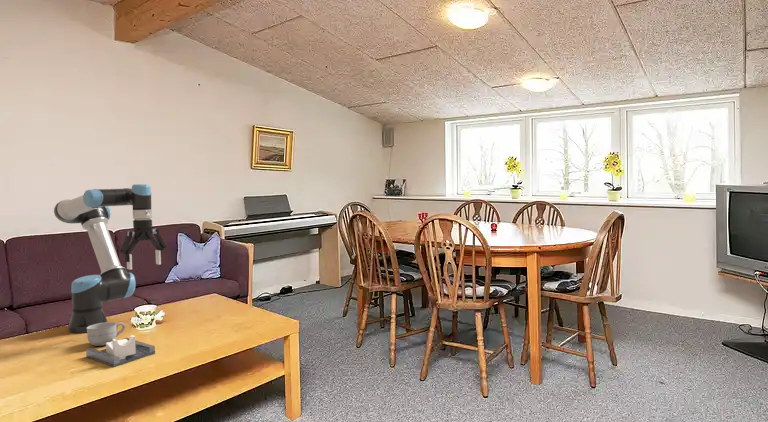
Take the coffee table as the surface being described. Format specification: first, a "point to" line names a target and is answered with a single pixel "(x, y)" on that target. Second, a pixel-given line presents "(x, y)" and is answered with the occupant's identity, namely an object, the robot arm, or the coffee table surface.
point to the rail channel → (114, 361)
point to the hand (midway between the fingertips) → (144, 266)
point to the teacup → (103, 332)
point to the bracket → (121, 347)
